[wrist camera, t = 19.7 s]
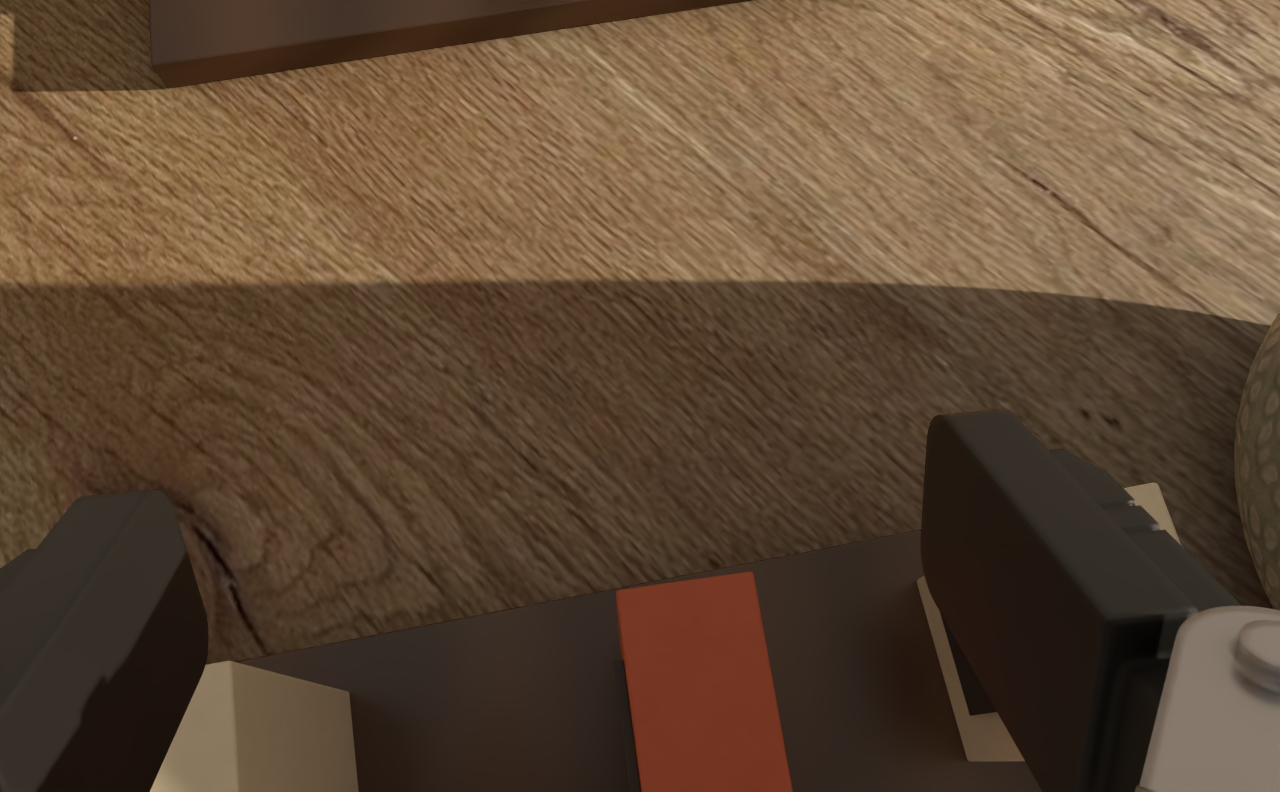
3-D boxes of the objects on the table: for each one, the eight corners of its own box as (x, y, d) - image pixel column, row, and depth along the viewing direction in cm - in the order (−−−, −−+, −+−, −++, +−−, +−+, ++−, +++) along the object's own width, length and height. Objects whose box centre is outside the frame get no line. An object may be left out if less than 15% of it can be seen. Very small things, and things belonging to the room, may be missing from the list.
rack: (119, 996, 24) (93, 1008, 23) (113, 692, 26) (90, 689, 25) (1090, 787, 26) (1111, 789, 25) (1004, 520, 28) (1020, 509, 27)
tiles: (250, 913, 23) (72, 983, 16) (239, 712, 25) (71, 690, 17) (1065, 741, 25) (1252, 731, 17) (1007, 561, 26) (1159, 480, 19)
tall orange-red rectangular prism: (636, 834, 24) (640, 866, 17) (610, 642, 26) (603, 591, 18) (748, 817, 24) (801, 841, 17) (717, 627, 26) (753, 570, 18)
